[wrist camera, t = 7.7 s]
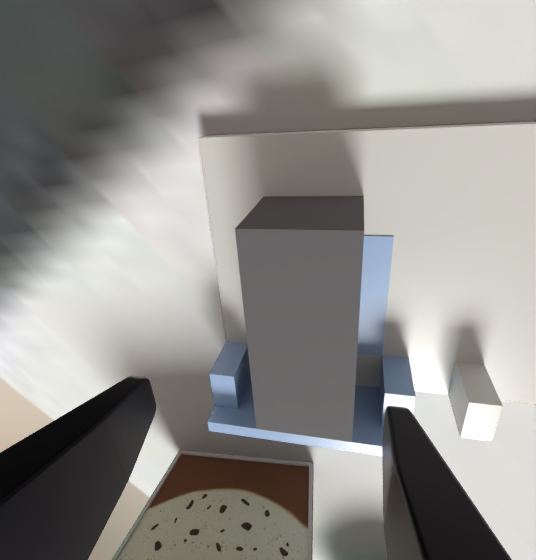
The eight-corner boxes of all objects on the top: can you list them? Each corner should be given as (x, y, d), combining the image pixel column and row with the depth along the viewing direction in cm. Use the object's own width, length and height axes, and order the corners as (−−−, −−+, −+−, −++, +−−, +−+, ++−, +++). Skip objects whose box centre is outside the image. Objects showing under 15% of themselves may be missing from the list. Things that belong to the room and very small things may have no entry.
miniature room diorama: (832, 108, 11) (1073, 119, 7) (658, 414, 17) (743, 509, 13) (205, 135, 16) (156, 151, 12) (235, 370, 21) (208, 431, 17)
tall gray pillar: (363, 195, 14) (364, 230, 11) (353, 375, 18) (352, 442, 15) (263, 196, 15) (234, 228, 12) (275, 367, 19) (256, 428, 16)
